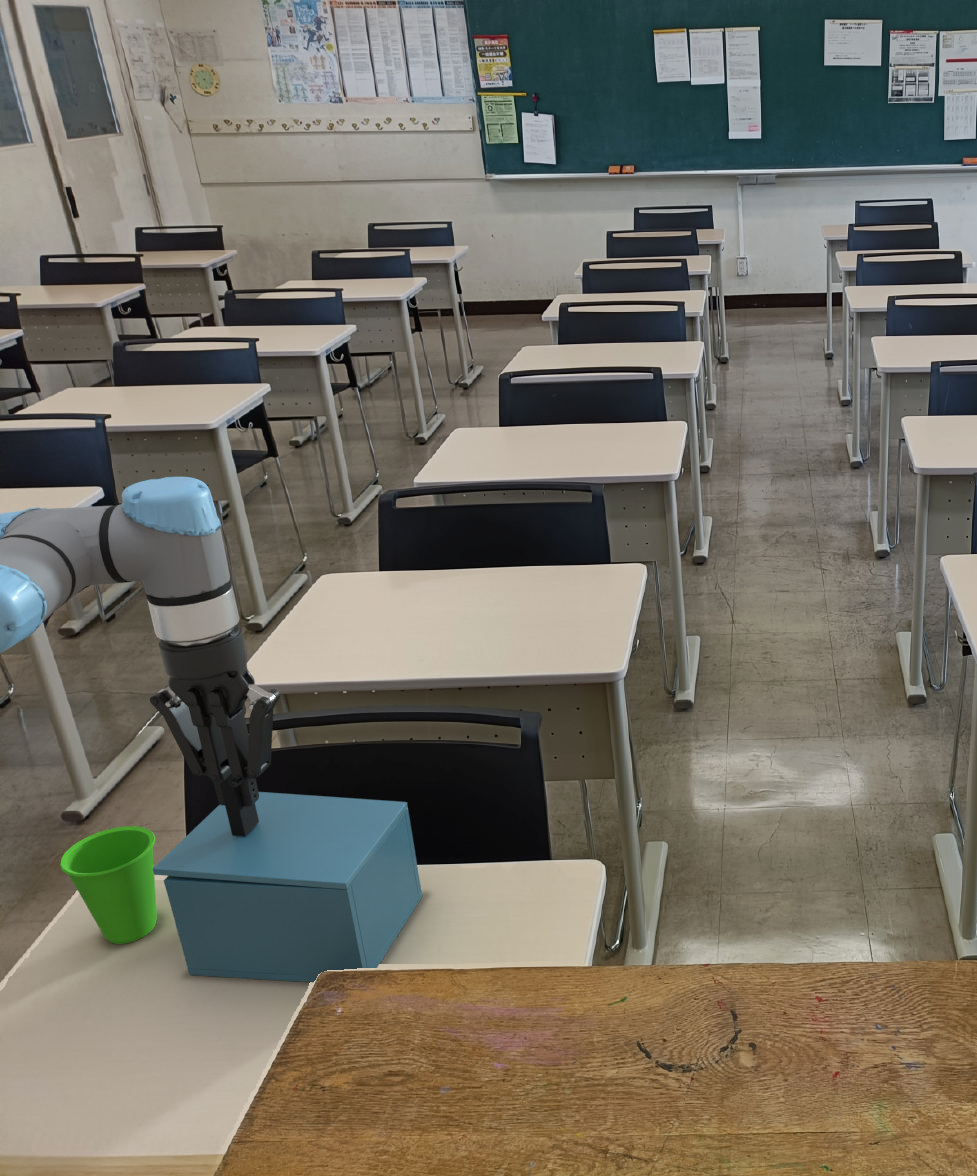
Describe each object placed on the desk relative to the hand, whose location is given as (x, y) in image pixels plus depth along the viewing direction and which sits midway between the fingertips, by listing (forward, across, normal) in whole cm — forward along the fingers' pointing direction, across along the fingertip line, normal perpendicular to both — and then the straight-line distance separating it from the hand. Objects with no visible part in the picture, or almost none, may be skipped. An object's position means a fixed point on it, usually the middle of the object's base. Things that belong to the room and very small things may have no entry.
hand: (245, 828), depth 114 cm
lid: (+1, -5, 0) cm, 5 cm away
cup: (+14, +16, +1) cm, 21 cm away
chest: (+14, -5, 0) cm, 15 cm away
